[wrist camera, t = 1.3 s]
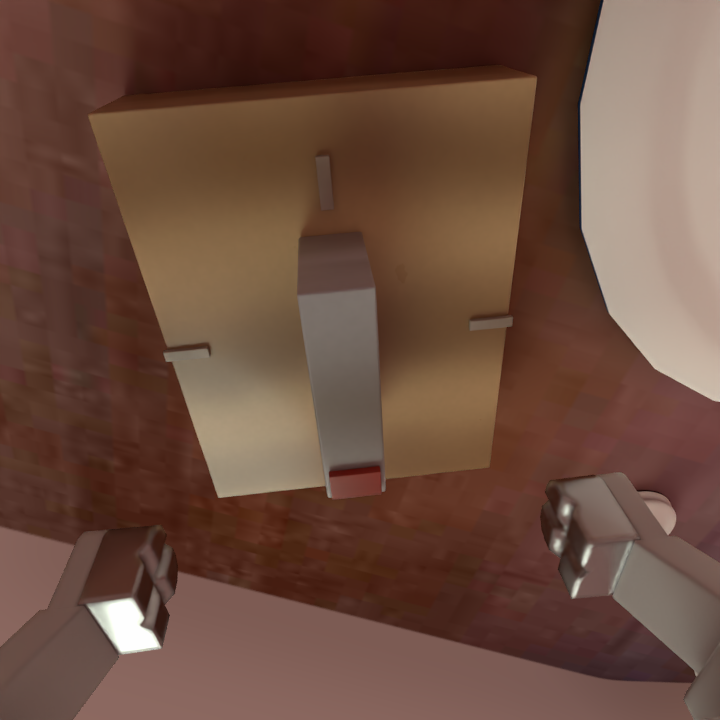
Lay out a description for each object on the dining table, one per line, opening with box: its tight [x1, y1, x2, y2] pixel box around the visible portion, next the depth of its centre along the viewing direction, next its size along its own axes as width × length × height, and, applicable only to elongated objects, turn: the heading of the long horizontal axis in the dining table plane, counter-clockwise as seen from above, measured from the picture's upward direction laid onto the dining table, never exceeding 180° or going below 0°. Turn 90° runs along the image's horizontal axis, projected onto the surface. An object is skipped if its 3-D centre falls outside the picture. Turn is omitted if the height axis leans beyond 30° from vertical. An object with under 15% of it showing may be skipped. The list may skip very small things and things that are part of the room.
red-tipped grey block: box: [297, 232, 386, 500], centre depth 15 cm, size 7×2×4 cm, turn 4°
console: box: [88, 65, 537, 498], centre depth 18 cm, size 14×11×3 cm
